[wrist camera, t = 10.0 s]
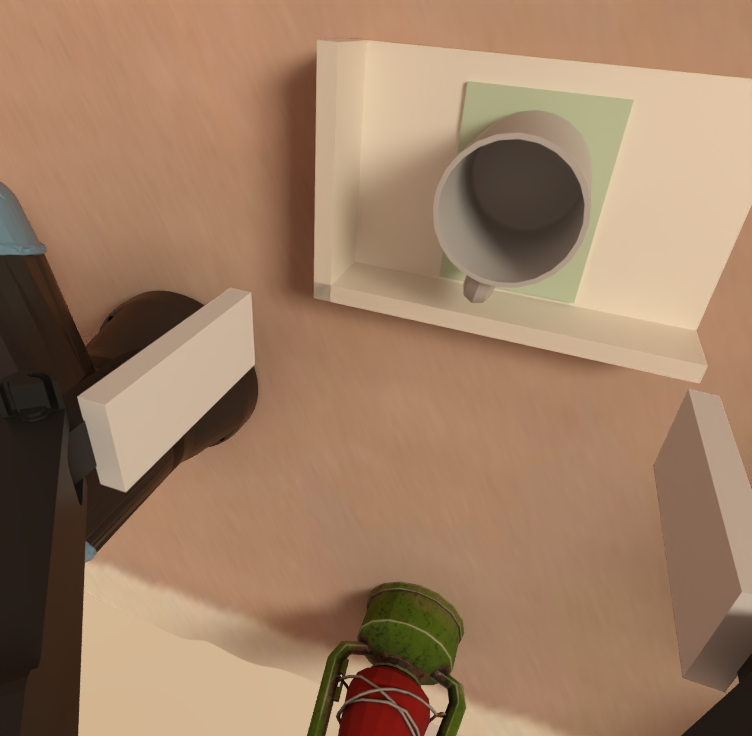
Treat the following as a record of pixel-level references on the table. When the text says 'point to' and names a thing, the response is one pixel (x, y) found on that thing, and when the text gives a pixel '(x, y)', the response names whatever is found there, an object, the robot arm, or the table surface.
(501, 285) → the cup
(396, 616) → the lantern
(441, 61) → the tray
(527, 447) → the table surface
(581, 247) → the pad
